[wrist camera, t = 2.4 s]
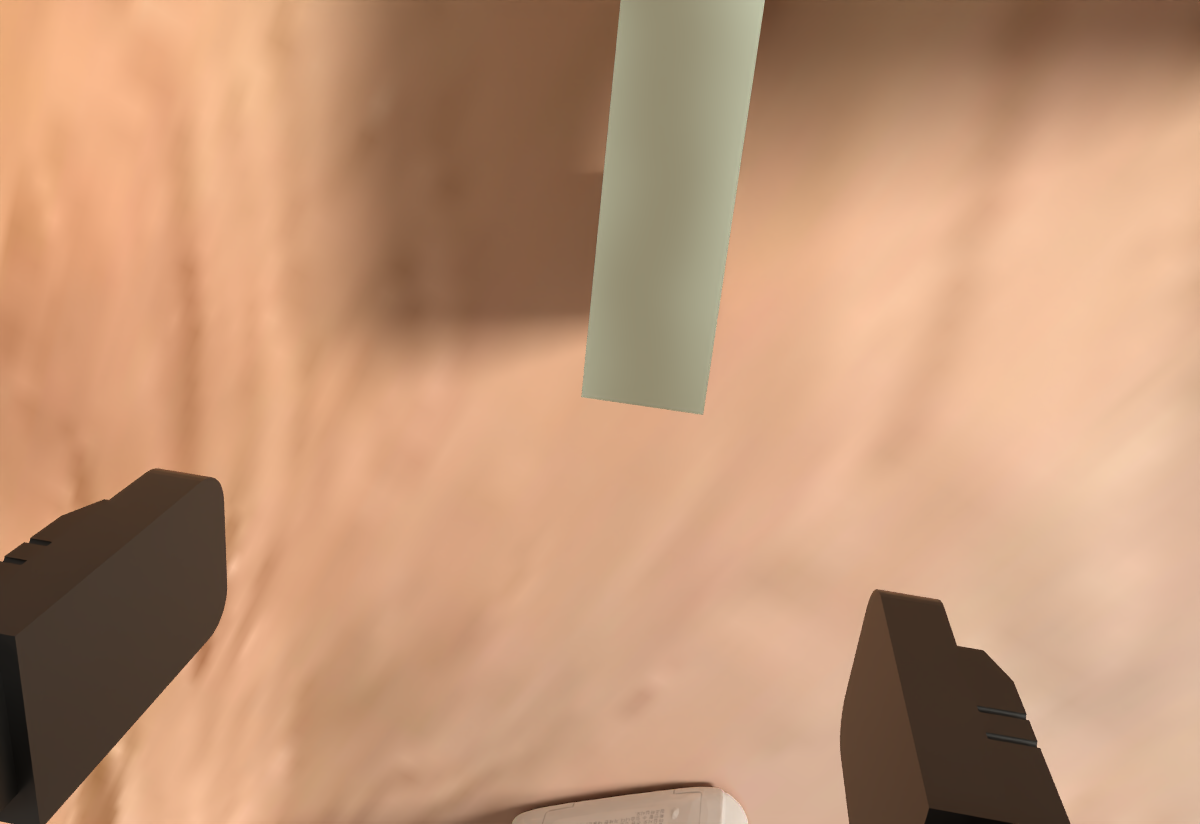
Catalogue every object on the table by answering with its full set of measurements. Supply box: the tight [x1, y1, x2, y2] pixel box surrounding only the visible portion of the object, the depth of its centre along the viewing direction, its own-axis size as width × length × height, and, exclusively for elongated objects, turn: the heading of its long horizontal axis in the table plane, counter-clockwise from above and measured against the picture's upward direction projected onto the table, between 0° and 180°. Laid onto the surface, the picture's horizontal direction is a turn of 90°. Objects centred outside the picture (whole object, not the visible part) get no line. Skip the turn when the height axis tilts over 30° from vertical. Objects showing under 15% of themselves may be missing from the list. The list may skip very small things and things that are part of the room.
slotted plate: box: [582, 0, 765, 415], centre depth 26 cm, size 3×14×10 cm, turn 174°
